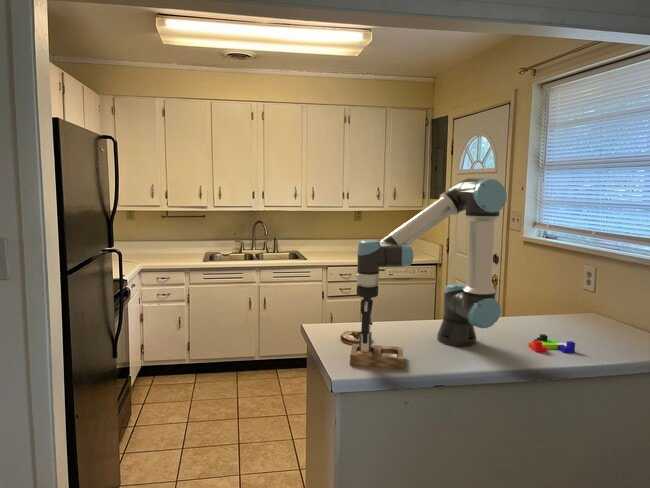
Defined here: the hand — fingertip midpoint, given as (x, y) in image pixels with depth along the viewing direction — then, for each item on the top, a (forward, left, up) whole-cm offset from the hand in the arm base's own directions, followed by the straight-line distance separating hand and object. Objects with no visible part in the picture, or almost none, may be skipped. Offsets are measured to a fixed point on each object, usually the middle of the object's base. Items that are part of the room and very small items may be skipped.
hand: (365, 346), depth 173 cm
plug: (0, +1, -3) cm, 3 cm away
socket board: (-4, +1, -4) cm, 6 cm away
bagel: (+5, -20, -5) cm, 21 cm away
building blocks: (-70, -28, -5) cm, 75 cm away
